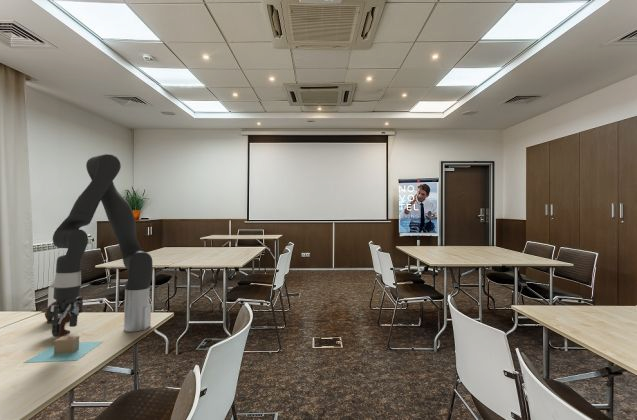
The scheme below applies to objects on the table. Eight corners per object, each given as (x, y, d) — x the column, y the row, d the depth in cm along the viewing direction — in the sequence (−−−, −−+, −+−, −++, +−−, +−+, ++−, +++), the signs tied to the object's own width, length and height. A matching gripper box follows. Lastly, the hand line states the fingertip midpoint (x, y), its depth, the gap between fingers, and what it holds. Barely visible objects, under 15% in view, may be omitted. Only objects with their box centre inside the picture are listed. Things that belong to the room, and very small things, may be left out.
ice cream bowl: (85, 329, 132) (86, 294, 133) (61, 339, 121) (62, 300, 122) (62, 328, 133) (63, 293, 134) (36, 338, 122) (37, 299, 123)
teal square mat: (103, 343, 120) (103, 329, 120) (76, 362, 104) (77, 346, 104) (57, 345, 118) (58, 331, 118) (23, 364, 102) (23, 348, 102)
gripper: (65, 288, 105) (62, 337, 104) (91, 280, 119) (88, 323, 119) (40, 288, 104) (37, 337, 104) (70, 280, 119) (67, 324, 118)
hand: (64, 330), depth 111 cm, fingers open, 8 cm apart
